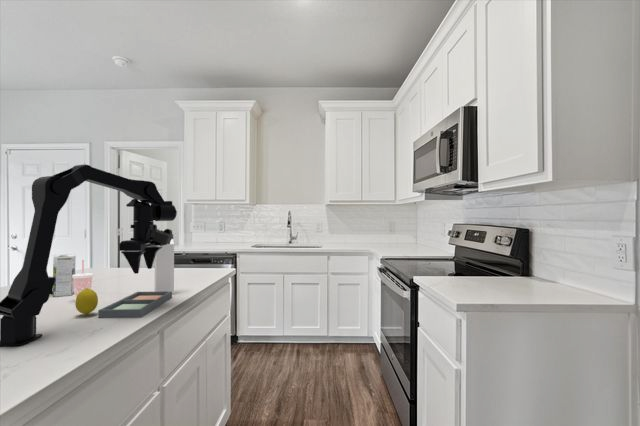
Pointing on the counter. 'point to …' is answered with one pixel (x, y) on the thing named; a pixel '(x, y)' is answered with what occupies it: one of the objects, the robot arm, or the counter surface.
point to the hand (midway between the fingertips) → (143, 270)
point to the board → (135, 305)
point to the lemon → (86, 301)
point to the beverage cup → (82, 281)
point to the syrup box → (63, 275)
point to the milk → (165, 268)
